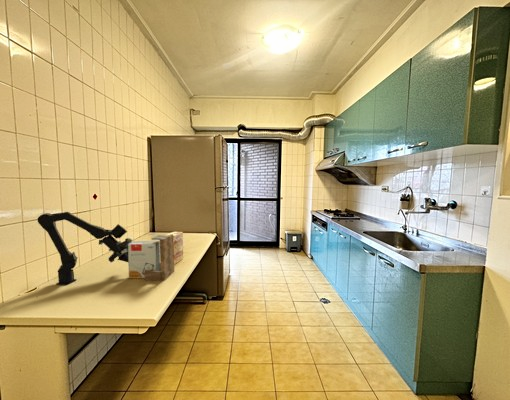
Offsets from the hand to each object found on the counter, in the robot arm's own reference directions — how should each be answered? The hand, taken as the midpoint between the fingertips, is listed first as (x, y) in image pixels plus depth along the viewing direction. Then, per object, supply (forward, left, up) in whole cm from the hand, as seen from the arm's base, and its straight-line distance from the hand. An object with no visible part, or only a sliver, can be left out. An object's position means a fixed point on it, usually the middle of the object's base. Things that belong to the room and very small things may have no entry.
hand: (132, 262), depth 143 cm
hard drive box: (-2, -8, -7) cm, 11 cm away
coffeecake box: (+24, -14, -7) cm, 29 cm away
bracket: (0, -17, -7) cm, 18 cm away
